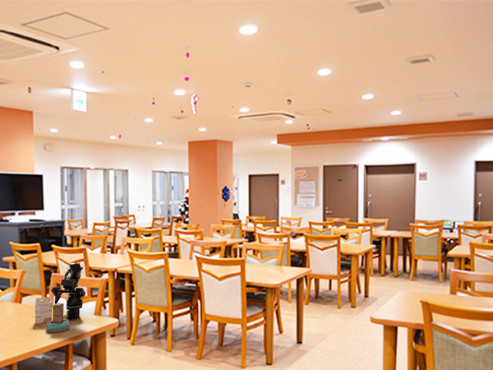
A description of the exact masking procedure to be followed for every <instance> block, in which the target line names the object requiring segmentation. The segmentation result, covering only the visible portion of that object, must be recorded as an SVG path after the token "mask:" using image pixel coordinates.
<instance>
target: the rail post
mask: <svg viewBox="0 0 493 370" xmlns="http://www.w3.org/2000/svg"><path fill="white" fill-rule="evenodd" d="M64 307H65V304H64V303H56V304H55V303H54V304H52V321H53V323H62V322H63V320H64V313H65V311H64Z"/></svg>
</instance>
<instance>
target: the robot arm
mask: <svg viewBox="0 0 493 370" xmlns="http://www.w3.org/2000/svg"><path fill="white" fill-rule="evenodd" d="M82 265H83V264H81V263H80V262H71V263H70V262H69V264H67V271H66V272H65V273H64V277H63V279H61V281H60V286H62V288H63V289H62V288H61V287H60V286H53V287H52V288H51V290H50V291H51V294H53V296H54V304H56V303H58V302H59V300H60V299H61V298H62V294H67V299H66V302H65V303H66V304H65V309H66V320H68V319H69V321H73V320H72V319H75V320H78V319H77V318H80V319H81V316H80V314H81V313H80V311H81V309H82V308H83V302H84V301H83V299H82V298H84V297H85V296H86V291H85V289H84V287H79V285H78V284H79V281H80V279H81V276H82V275H81V274H82V271H83V269H84V267H83V266H82ZM69 274H70V275H69Z"/></svg>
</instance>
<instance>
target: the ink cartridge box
mask: <svg viewBox="0 0 493 370" xmlns="http://www.w3.org/2000/svg"><path fill="white" fill-rule="evenodd" d="M51 321H53V301H52V299H51V296H49V297H36V298H35V304H34V323H35V324H45V323H46V324H47V323H48V322H51Z"/></svg>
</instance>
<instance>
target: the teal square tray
mask: <svg viewBox="0 0 493 370" xmlns="http://www.w3.org/2000/svg"><path fill="white" fill-rule="evenodd" d="M69 321H70V320H68V319H63V322H62V323H53V320H52V321H51V322H49V323H46V328H45V332H46V333H48V334H57V333H58V332H60V333H64V332H67V331H69V330H70V325H69ZM68 329H69V330H68Z"/></svg>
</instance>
